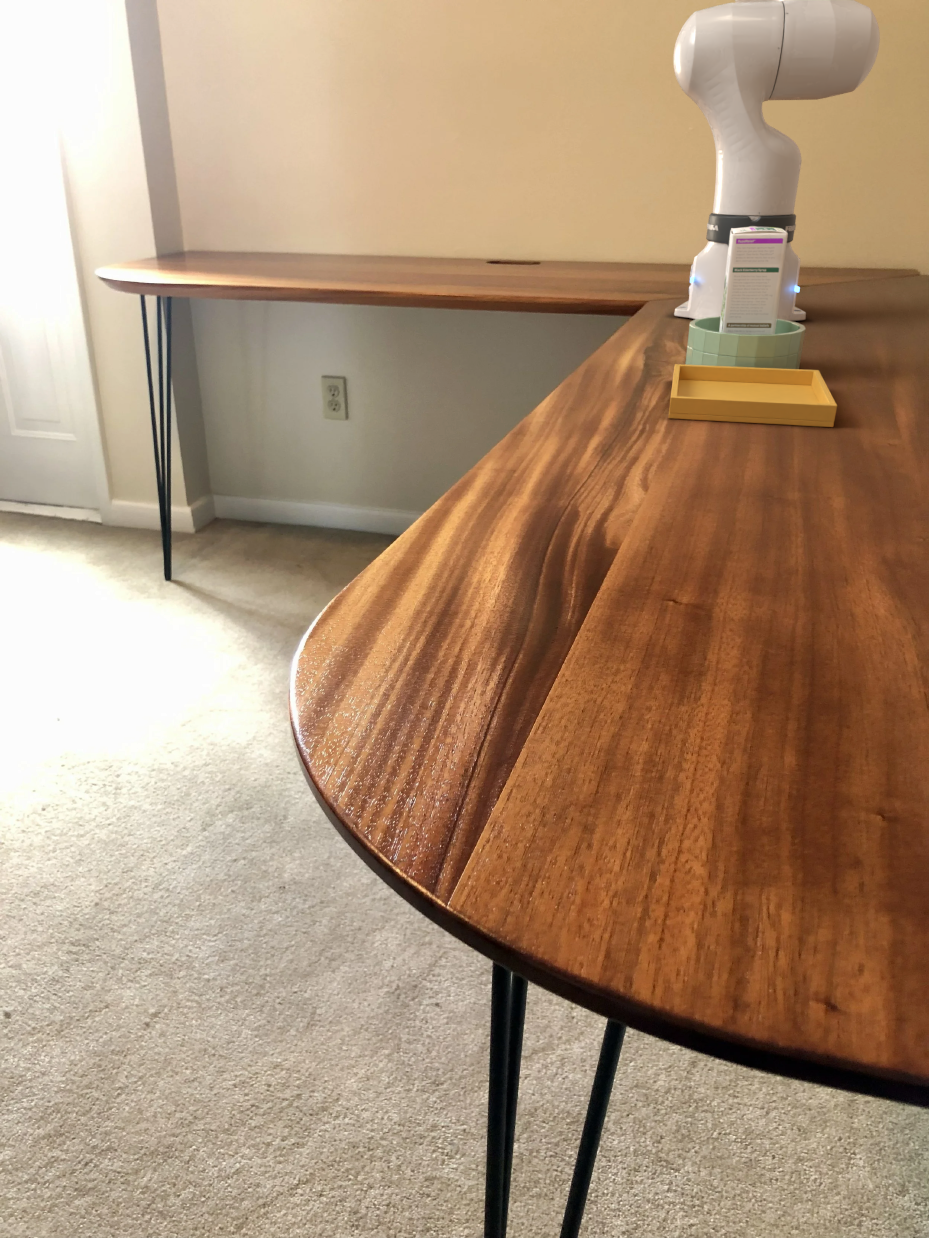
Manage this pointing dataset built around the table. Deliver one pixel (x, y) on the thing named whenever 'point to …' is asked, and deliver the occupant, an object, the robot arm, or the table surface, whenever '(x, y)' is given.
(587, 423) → the table surface
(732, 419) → the tray
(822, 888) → the table surface
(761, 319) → the syrup box
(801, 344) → the bowl
